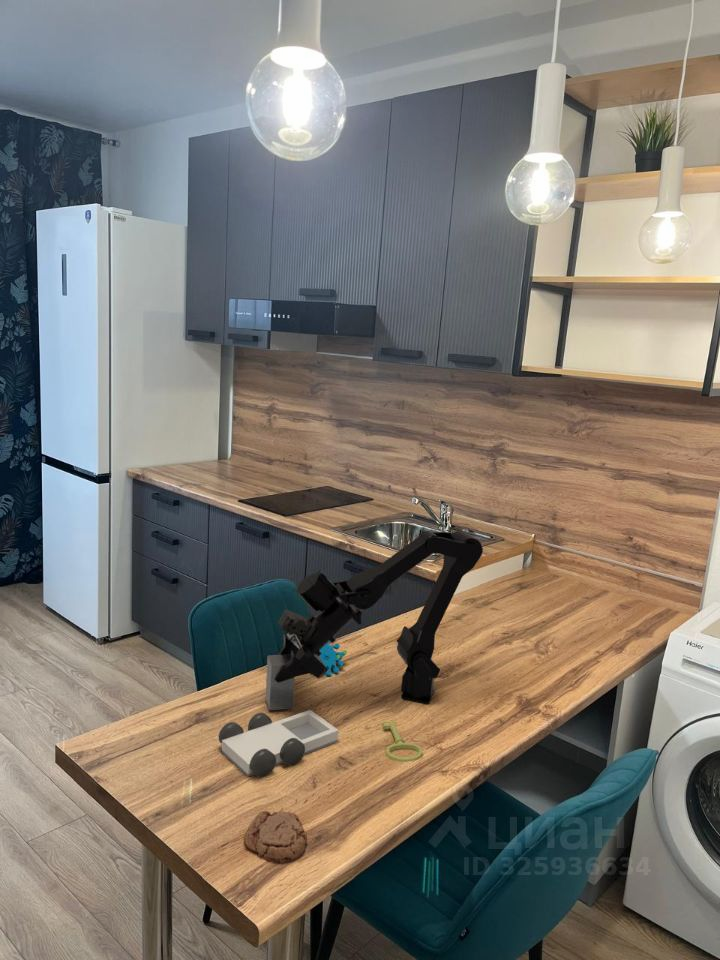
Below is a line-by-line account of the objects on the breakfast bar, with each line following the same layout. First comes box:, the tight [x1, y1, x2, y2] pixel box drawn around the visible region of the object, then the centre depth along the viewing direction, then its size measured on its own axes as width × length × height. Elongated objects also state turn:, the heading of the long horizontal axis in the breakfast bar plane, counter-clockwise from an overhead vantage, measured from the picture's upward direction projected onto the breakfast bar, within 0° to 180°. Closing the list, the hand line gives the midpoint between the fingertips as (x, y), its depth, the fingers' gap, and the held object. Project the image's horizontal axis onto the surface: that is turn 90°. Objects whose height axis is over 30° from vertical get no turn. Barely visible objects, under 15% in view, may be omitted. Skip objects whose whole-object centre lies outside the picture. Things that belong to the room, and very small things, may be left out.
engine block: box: [265, 654, 296, 711], centre depth 155 cm, size 5×5×10 cm
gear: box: [319, 641, 348, 677], centre depth 175 cm, size 11×6×10 cm
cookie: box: [243, 810, 308, 864], centre depth 115 cm, size 10×11×3 cm
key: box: [381, 720, 424, 763], centre depth 145 cm, size 7×12×2 cm, turn 32°
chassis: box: [218, 709, 339, 778], centre depth 141 cm, size 21×13×5 cm, turn 131°
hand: (274, 675), depth 154 cm, fingers closed on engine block, 5 cm apart
